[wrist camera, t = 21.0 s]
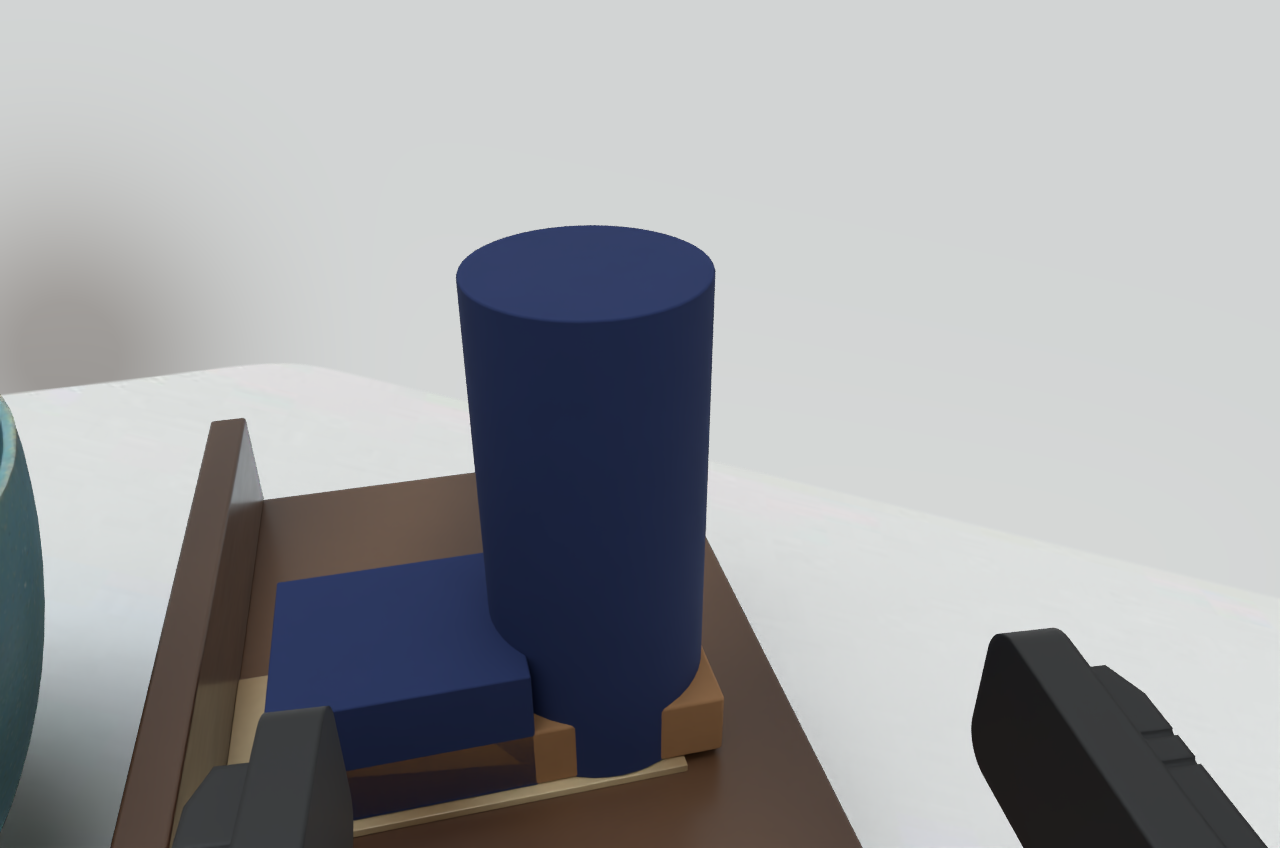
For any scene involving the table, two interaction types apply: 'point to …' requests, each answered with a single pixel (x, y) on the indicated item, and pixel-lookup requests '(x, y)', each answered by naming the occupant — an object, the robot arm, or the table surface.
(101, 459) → the table surface
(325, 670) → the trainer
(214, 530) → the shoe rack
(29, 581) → the teal bowl
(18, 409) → the table surface
